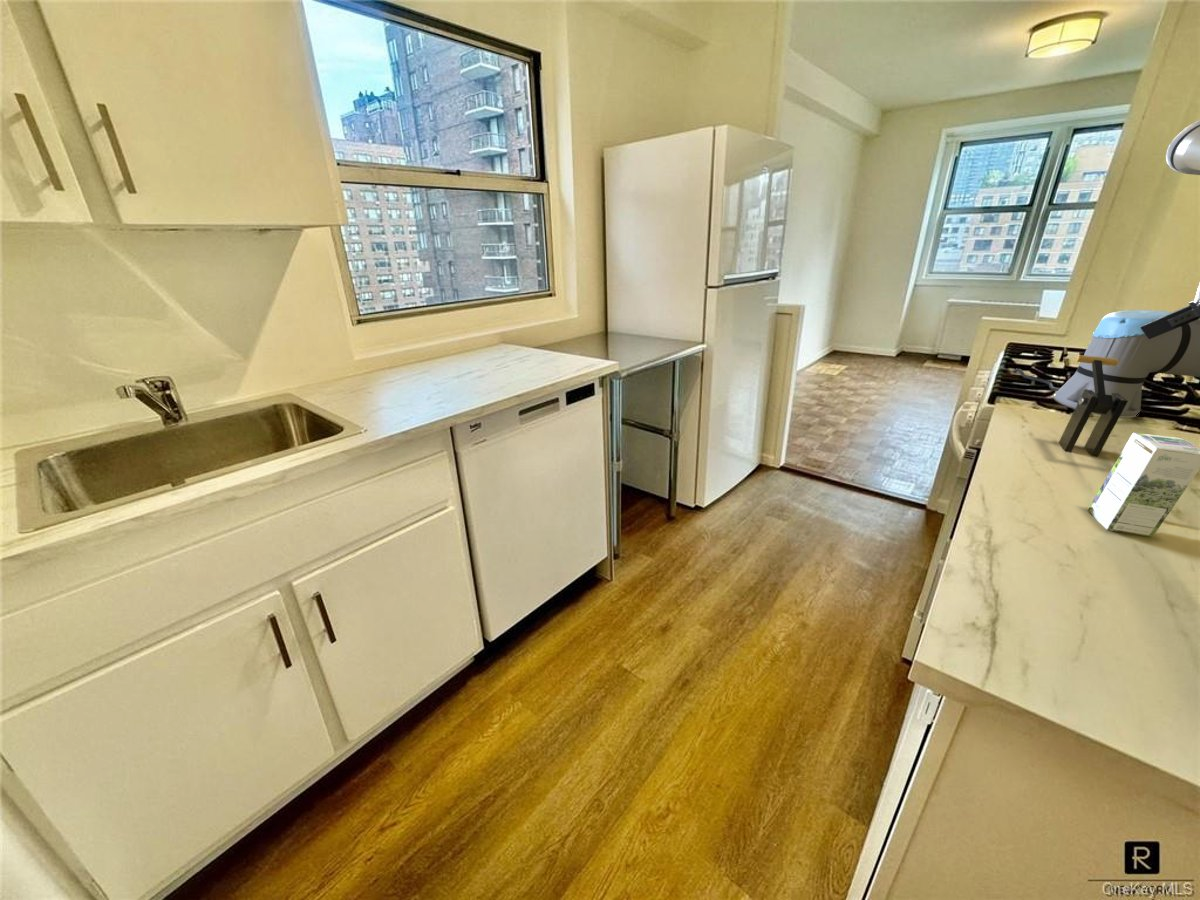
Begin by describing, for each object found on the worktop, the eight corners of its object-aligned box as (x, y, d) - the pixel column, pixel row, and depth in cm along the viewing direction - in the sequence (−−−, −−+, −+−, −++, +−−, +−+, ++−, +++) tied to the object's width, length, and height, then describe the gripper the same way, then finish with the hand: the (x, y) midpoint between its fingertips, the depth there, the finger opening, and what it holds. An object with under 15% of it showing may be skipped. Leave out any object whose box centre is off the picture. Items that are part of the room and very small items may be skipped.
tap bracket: (1040, 440, 102) (1067, 383, 96) (1095, 450, 98) (1127, 390, 92) (1052, 460, 94) (1083, 399, 88) (1113, 471, 90) (1149, 408, 84)
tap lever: (1073, 360, 99) (1080, 351, 97) (1112, 364, 97) (1119, 355, 95) (1077, 410, 92) (1084, 401, 91) (1119, 416, 90) (1127, 407, 88)
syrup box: (1130, 517, 77) (1181, 435, 70) (1154, 539, 72) (1211, 453, 65) (1086, 510, 79) (1131, 430, 72) (1106, 531, 74) (1157, 447, 67)
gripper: (1388, 265, 68) (1155, 356, 86) (1368, 259, 76) (1158, 343, 94) (1351, 222, 69) (1129, 321, 87) (1335, 220, 77) (1134, 311, 95)
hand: (1144, 332), depth 91 cm, fingers closed
